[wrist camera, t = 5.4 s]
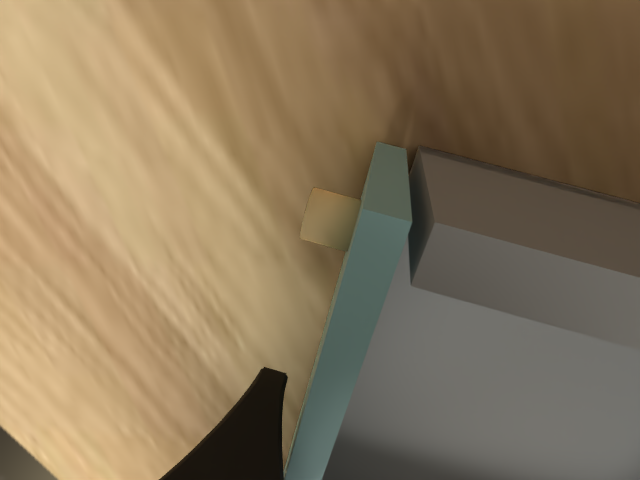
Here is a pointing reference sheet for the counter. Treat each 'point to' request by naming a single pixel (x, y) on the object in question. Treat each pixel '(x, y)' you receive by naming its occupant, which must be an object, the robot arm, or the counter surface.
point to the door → (350, 297)
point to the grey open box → (502, 335)
